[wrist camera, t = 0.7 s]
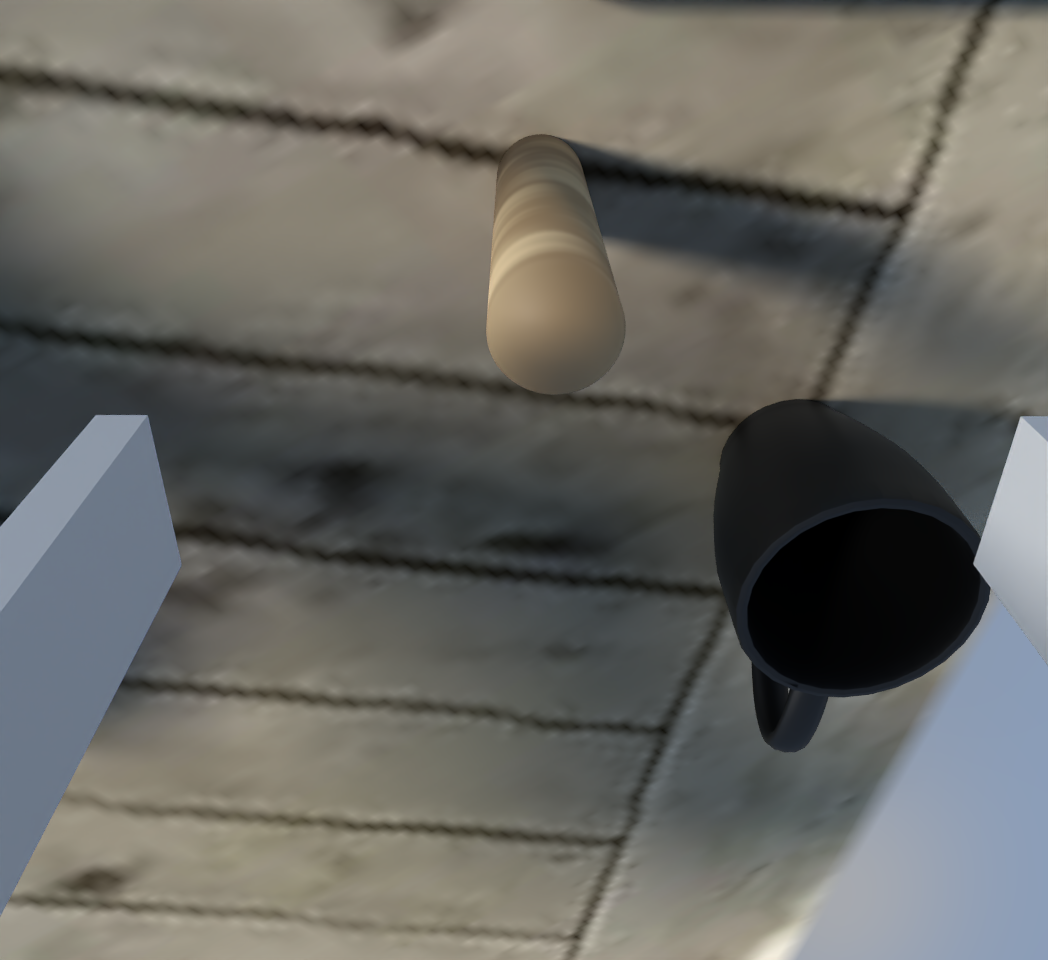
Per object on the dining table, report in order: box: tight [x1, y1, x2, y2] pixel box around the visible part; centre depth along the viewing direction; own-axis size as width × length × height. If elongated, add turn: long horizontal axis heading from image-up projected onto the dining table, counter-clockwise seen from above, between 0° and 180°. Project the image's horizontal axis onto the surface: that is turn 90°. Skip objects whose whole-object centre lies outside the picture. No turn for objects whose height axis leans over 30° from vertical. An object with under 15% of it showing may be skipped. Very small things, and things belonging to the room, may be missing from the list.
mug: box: [713, 400, 991, 752], centre depth 34 cm, size 8×12×10 cm
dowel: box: [486, 134, 625, 395], centre depth 26 cm, size 3×3×14 cm
